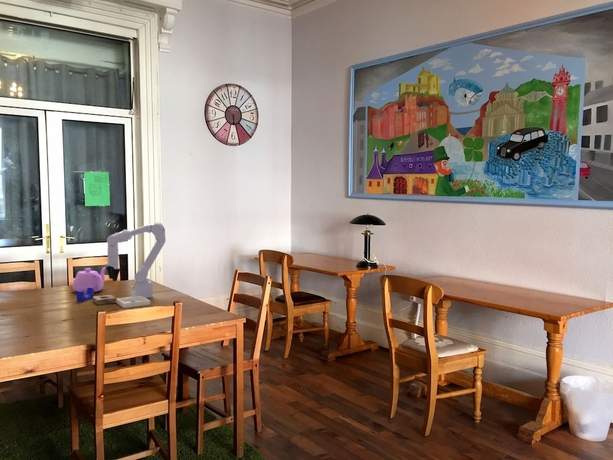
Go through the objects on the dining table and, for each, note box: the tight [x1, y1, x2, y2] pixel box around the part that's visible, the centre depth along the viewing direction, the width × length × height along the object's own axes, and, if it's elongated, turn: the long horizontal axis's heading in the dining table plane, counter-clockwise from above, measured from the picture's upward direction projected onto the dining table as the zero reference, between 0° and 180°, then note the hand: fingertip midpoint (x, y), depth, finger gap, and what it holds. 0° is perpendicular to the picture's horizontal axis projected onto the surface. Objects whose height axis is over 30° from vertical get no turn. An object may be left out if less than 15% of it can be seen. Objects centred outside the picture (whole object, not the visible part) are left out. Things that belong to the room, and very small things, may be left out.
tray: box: [116, 296, 151, 309], centre depth 290 cm, size 14×14×2 cm
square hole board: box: [92, 294, 117, 306], centre depth 294 cm, size 10×10×2 cm
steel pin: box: [129, 285, 135, 302], centre depth 290 cm, size 3×3×9 cm
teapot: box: [72, 266, 107, 294], centre depth 323 cm, size 22×22×14 cm
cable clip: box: [75, 287, 95, 303], centre depth 300 cm, size 12×4×6 cm, turn 170°
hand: (113, 279), depth 304 cm, fingers open, 7 cm apart
